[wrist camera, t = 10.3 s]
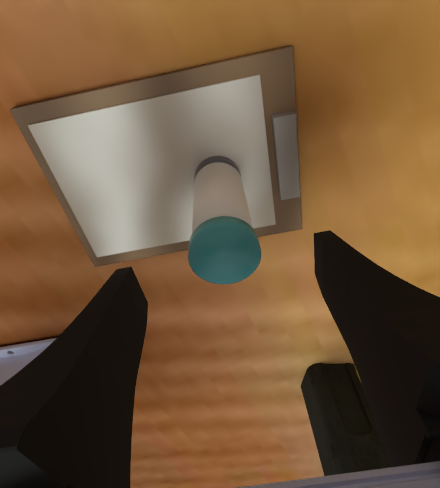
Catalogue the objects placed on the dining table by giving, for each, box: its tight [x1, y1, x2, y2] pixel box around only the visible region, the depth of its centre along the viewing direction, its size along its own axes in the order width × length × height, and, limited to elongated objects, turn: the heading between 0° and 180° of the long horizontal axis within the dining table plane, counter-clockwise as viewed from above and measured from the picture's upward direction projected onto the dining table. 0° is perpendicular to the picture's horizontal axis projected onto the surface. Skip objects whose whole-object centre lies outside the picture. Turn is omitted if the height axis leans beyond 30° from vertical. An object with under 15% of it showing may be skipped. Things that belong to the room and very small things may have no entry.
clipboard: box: [10, 45, 302, 267], centre depth 20 cm, size 15×11×1 cm
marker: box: [188, 156, 261, 284], centre depth 17 cm, size 3×3×8 cm
